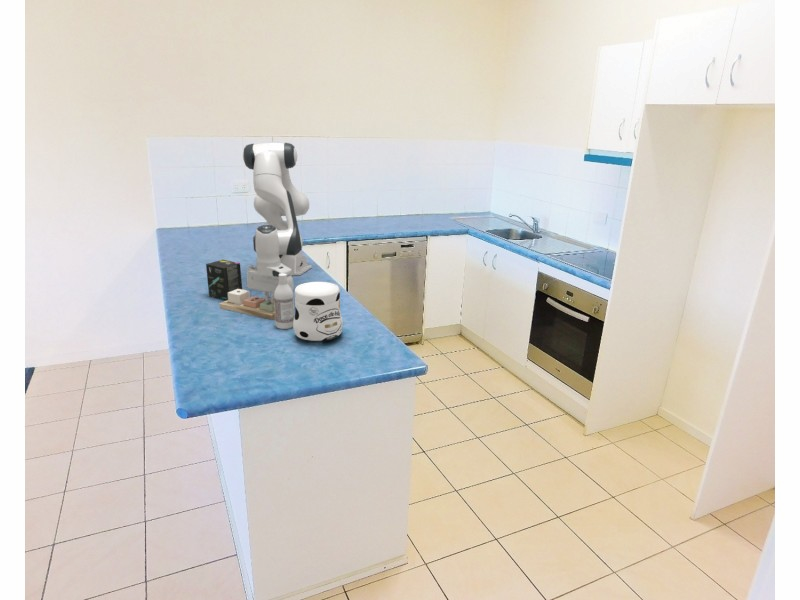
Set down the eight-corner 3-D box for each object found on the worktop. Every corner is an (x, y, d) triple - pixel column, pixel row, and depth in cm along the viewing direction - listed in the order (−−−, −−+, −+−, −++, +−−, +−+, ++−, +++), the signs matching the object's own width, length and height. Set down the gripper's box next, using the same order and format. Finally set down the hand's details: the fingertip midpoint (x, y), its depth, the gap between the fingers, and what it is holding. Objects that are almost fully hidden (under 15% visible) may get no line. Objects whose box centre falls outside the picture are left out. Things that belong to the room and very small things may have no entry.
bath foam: (277, 322, 201) (275, 271, 195) (296, 322, 201) (294, 271, 195) (273, 329, 195) (270, 276, 188) (292, 329, 195) (290, 277, 188)
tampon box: (243, 295, 229) (241, 262, 224) (226, 301, 221) (223, 267, 216) (225, 291, 234) (222, 258, 229) (208, 296, 226) (205, 263, 222)
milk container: (333, 348, 180) (333, 298, 174) (285, 343, 184) (283, 293, 178) (348, 329, 196) (348, 283, 190) (304, 324, 200) (302, 278, 194)
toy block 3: (270, 308, 214) (269, 298, 213) (282, 311, 212) (281, 301, 210) (260, 313, 209) (259, 303, 208) (272, 316, 207) (272, 305, 205)
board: (240, 299, 224) (239, 295, 223) (291, 310, 214) (290, 305, 213) (219, 308, 214) (219, 303, 213) (272, 319, 203) (271, 314, 203)
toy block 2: (254, 305, 217) (253, 295, 216) (266, 307, 215) (265, 298, 214) (244, 309, 212) (243, 300, 211) (256, 312, 210) (255, 302, 208)
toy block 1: (238, 297, 220) (237, 288, 219) (250, 300, 218) (249, 290, 216) (228, 302, 215) (227, 292, 213) (240, 304, 212) (239, 294, 211)
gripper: (241, 266, 206) (244, 300, 210) (285, 274, 198) (286, 309, 202) (252, 262, 211) (255, 295, 216) (295, 270, 203) (296, 304, 208)
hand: (270, 302), depth 209 cm, fingers closed, pressing on toy block 3
